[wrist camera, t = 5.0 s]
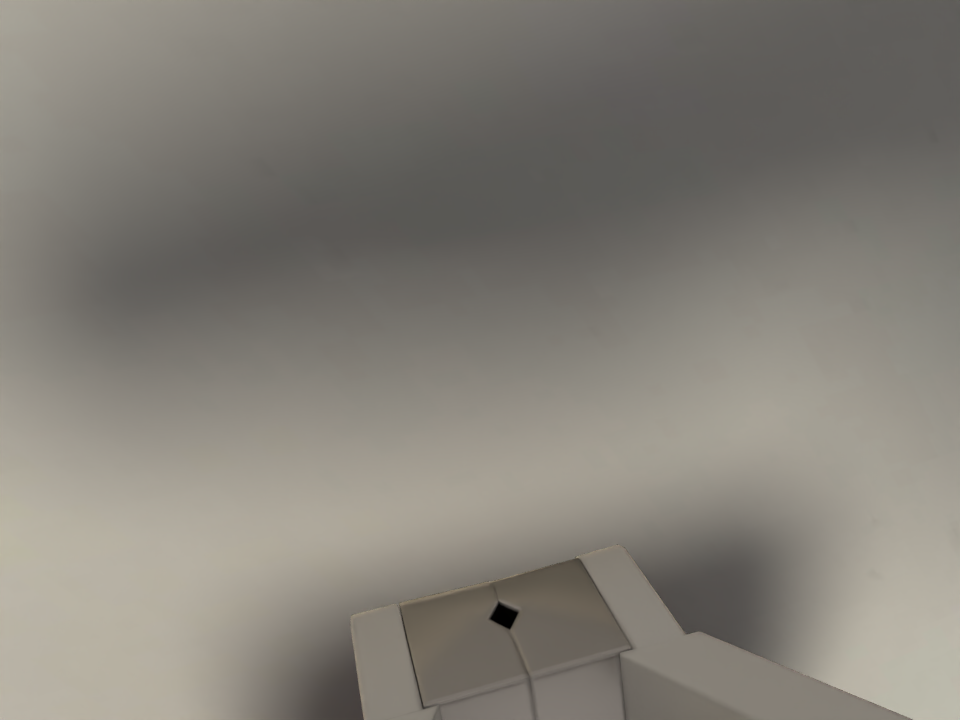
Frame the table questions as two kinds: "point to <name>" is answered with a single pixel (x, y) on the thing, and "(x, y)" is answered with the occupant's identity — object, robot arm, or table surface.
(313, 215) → the table surface
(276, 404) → the table surface
